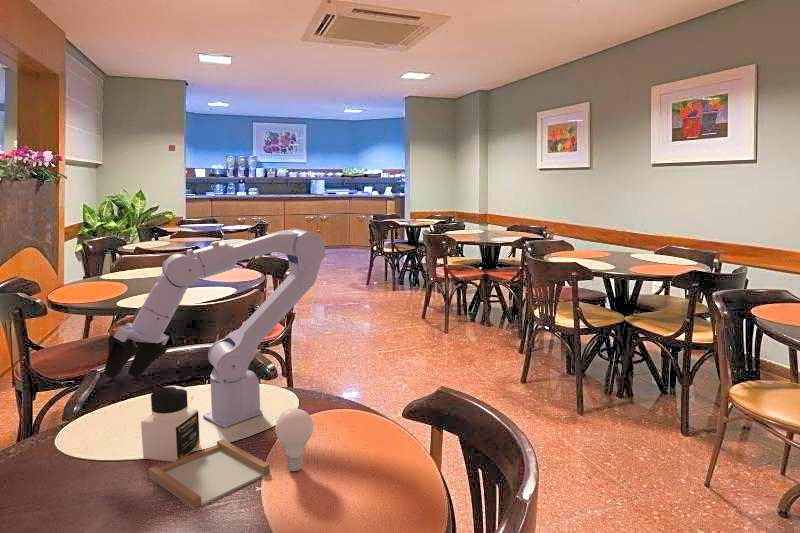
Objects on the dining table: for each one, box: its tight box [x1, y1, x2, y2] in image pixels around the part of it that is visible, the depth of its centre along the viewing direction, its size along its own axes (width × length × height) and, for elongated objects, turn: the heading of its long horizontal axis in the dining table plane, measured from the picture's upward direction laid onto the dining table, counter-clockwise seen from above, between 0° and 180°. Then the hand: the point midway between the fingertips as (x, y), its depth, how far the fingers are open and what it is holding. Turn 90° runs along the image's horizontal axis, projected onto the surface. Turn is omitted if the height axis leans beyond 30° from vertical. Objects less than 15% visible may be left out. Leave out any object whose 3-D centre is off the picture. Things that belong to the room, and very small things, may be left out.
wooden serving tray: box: [148, 439, 271, 510], centre depth 94 cm, size 14×14×2 cm
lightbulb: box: [274, 407, 314, 472], centre depth 95 cm, size 6×6×11 cm
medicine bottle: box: [140, 385, 201, 463], centre depth 101 cm, size 7×7×12 cm
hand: (121, 376), depth 105 cm, fingers open, 7 cm apart
